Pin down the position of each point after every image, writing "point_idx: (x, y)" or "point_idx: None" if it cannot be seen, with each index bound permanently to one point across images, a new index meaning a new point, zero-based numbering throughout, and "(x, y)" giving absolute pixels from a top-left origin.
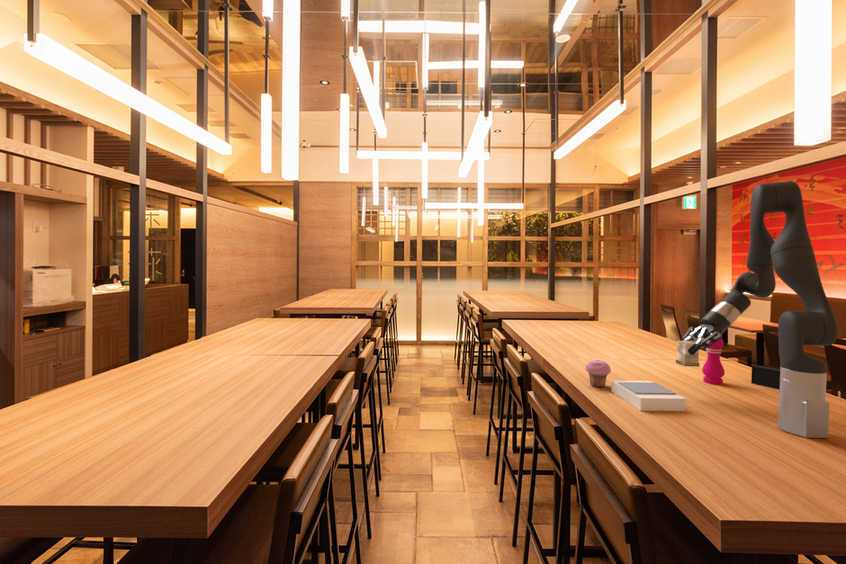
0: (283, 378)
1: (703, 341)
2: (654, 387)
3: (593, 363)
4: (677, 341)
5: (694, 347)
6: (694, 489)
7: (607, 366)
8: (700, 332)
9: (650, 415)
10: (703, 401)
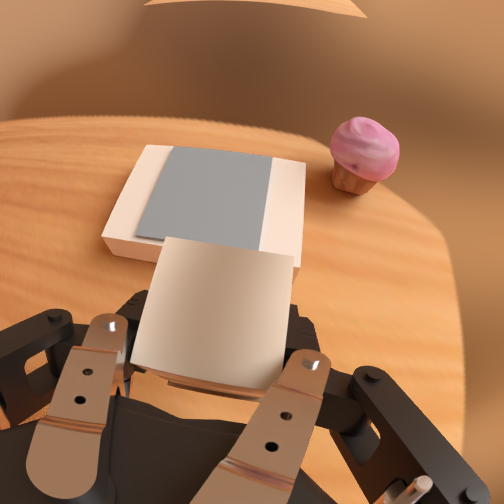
0: (331, 7)
1: (46, 318)
2: (202, 212)
3: (354, 117)
4: (288, 258)
5: (131, 306)
6: (7, 123)
7: (348, 145)
8: (165, 463)
9: (124, 169)
10: (168, 386)
